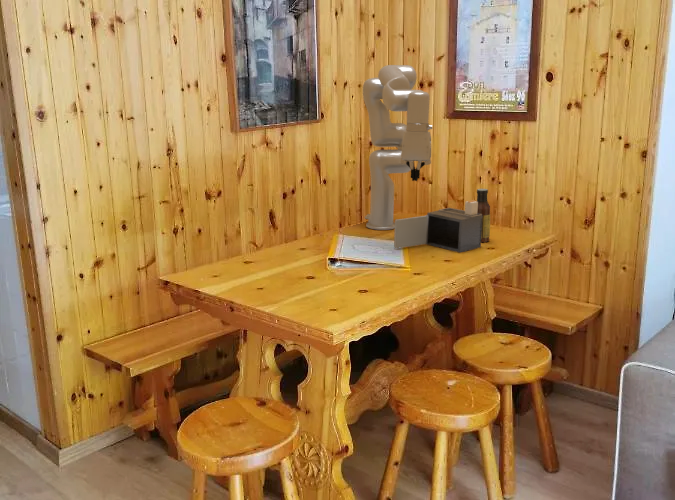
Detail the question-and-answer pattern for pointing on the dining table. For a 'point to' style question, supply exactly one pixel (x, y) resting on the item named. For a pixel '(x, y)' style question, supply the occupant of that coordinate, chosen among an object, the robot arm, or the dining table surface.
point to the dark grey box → (454, 230)
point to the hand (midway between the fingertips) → (414, 180)
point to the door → (411, 231)
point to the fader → (471, 207)
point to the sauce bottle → (484, 213)
